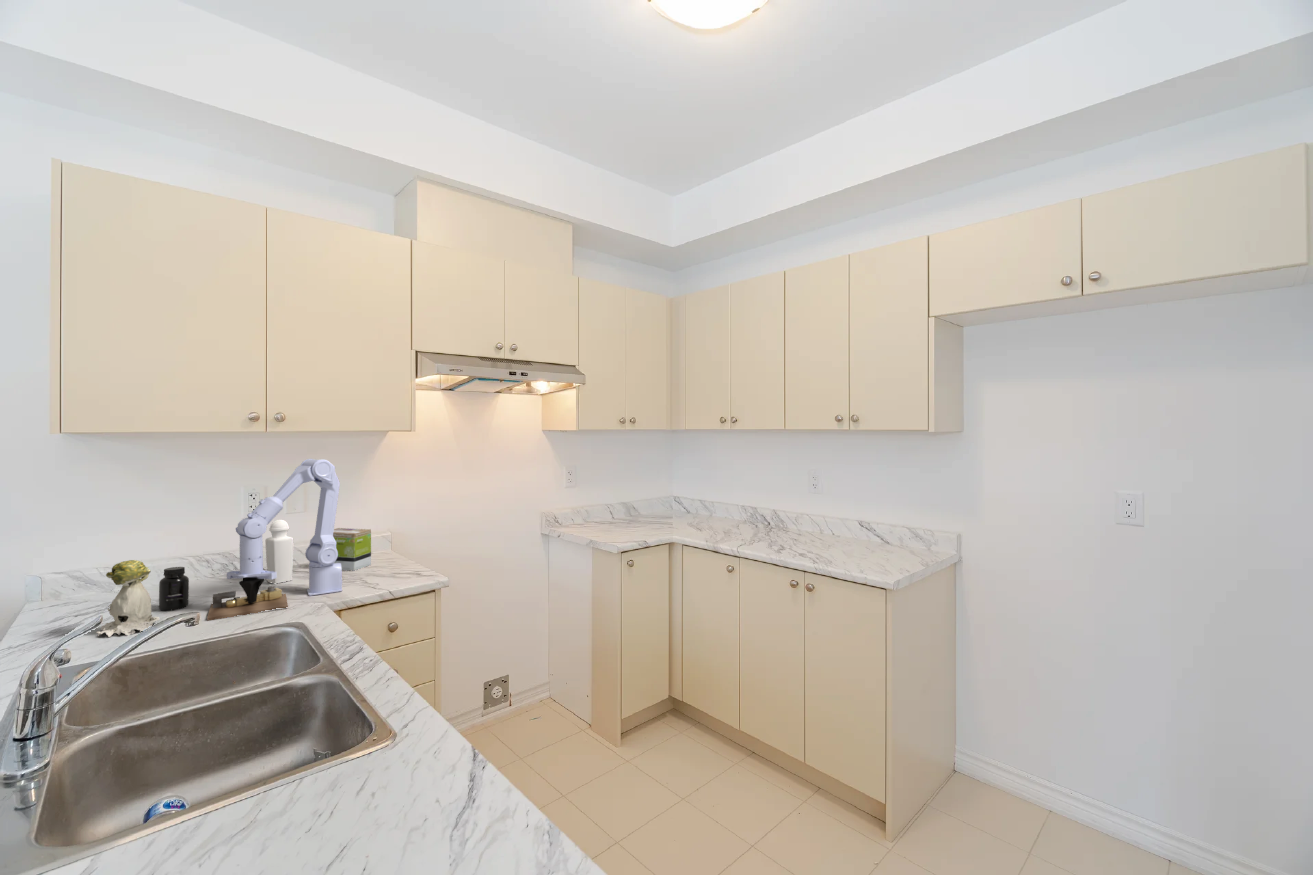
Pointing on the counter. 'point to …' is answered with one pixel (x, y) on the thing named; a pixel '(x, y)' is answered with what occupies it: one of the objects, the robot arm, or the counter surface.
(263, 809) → the counter surface
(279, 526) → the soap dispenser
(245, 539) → the robot arm
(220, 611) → the hinge board
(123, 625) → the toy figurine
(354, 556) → the tea box
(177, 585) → the supplement bottle
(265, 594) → the link
